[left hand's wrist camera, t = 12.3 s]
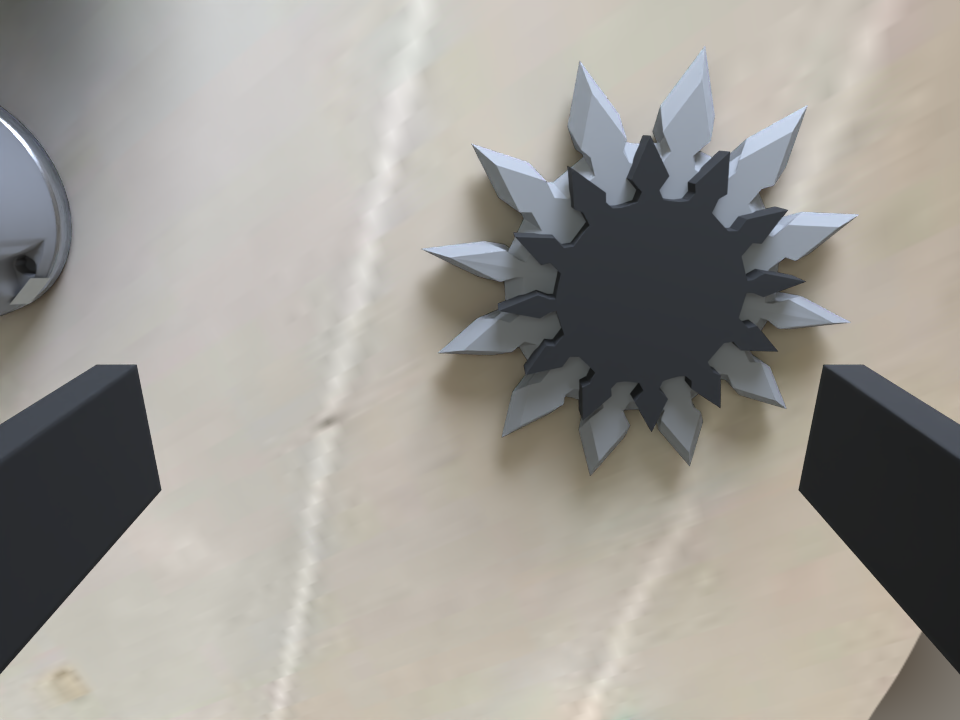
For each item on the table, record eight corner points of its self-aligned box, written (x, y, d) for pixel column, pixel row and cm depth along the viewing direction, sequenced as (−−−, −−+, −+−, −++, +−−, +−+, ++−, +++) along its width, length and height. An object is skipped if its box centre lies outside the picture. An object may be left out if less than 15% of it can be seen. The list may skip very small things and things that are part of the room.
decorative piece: (388, 465, 45) (455, -13, 35) (394, 439, 49) (457, 0, 38) (795, 525, 47) (972, 90, 37) (772, 495, 51) (927, 93, 40)
